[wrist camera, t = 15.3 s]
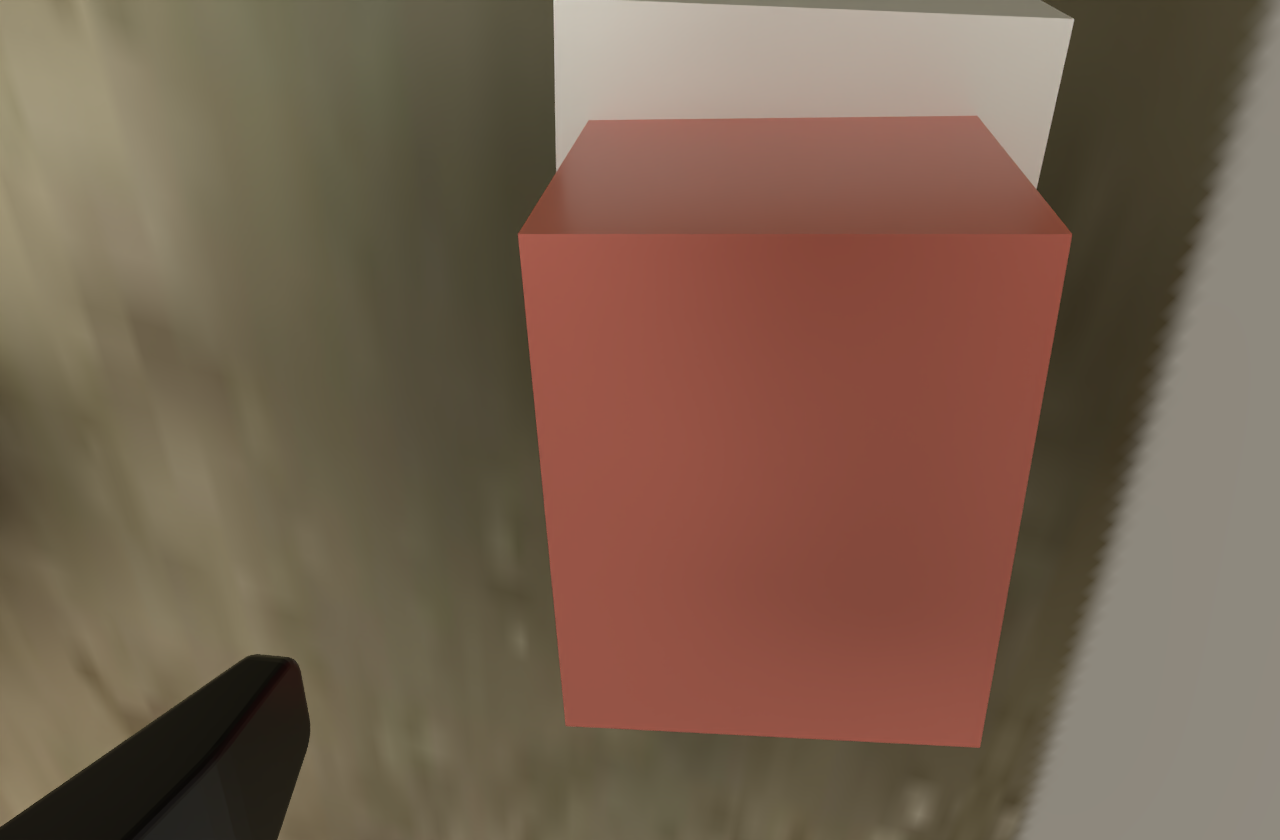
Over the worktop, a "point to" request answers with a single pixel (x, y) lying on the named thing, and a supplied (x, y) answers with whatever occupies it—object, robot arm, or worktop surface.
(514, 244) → the worktop surface
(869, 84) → the box
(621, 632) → the salmon red block
